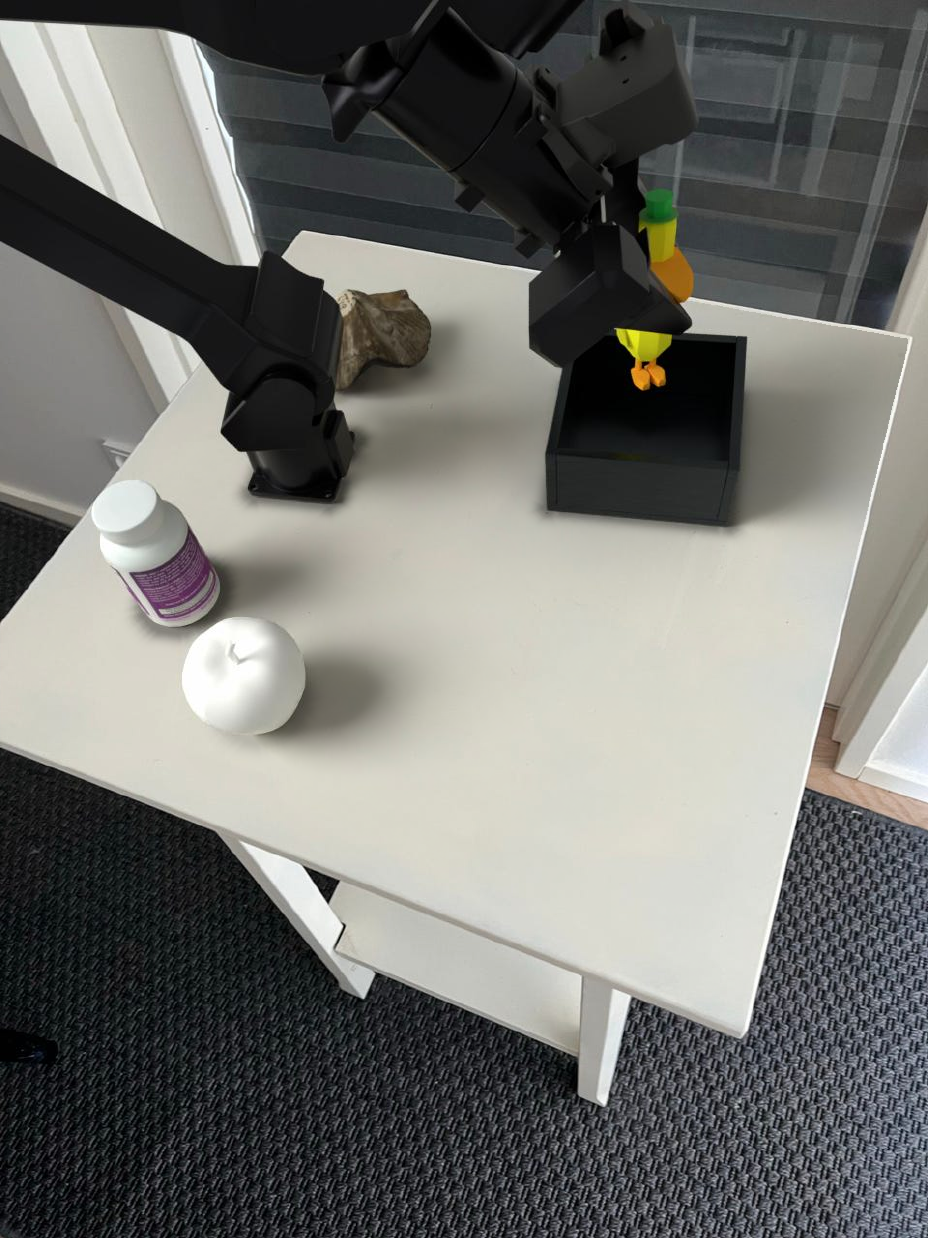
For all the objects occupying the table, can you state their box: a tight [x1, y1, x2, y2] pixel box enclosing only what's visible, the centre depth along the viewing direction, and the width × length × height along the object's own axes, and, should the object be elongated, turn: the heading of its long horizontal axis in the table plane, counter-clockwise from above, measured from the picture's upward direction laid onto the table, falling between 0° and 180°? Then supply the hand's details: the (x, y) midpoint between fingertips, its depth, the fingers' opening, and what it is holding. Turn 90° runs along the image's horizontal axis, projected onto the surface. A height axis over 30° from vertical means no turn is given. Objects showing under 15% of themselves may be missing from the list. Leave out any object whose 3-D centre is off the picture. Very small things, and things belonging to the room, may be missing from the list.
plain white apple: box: [181, 616, 306, 736], centre depth 54 cm, size 7×7×8 cm
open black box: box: [544, 328, 748, 528], centre depth 63 cm, size 12×12×6 cm
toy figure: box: [616, 188, 695, 391], centre depth 54 cm, size 7×4×12 cm, turn 17°
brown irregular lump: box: [335, 288, 432, 392], centre depth 70 cm, size 8×7×10 cm
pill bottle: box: [91, 478, 221, 628], centre depth 58 cm, size 5×5×10 cm
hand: (681, 295), depth 54 cm, fingers closed on toy figure, 5 cm apart
